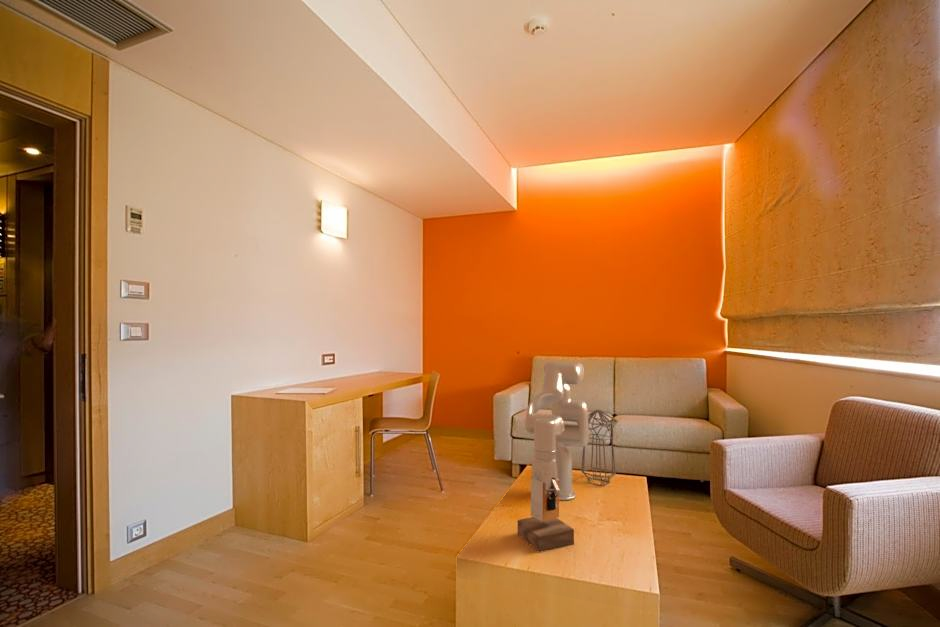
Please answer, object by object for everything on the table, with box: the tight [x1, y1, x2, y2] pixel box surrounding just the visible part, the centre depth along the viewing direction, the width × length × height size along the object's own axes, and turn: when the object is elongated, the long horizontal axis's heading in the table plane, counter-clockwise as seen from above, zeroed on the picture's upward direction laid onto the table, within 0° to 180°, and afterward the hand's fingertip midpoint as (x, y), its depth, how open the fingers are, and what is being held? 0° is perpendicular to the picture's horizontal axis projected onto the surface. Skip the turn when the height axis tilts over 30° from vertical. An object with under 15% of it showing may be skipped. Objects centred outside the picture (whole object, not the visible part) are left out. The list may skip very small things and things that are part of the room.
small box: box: [530, 478, 560, 522], centre depth 151 cm, size 8×6×13 cm
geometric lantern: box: [580, 409, 620, 487], centre depth 211 cm, size 16×16×35 cm
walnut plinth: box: [517, 516, 575, 553], centre depth 151 cm, size 14×14×5 cm
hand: (545, 505), depth 151 cm, fingers closed on small box, 6 cm apart
